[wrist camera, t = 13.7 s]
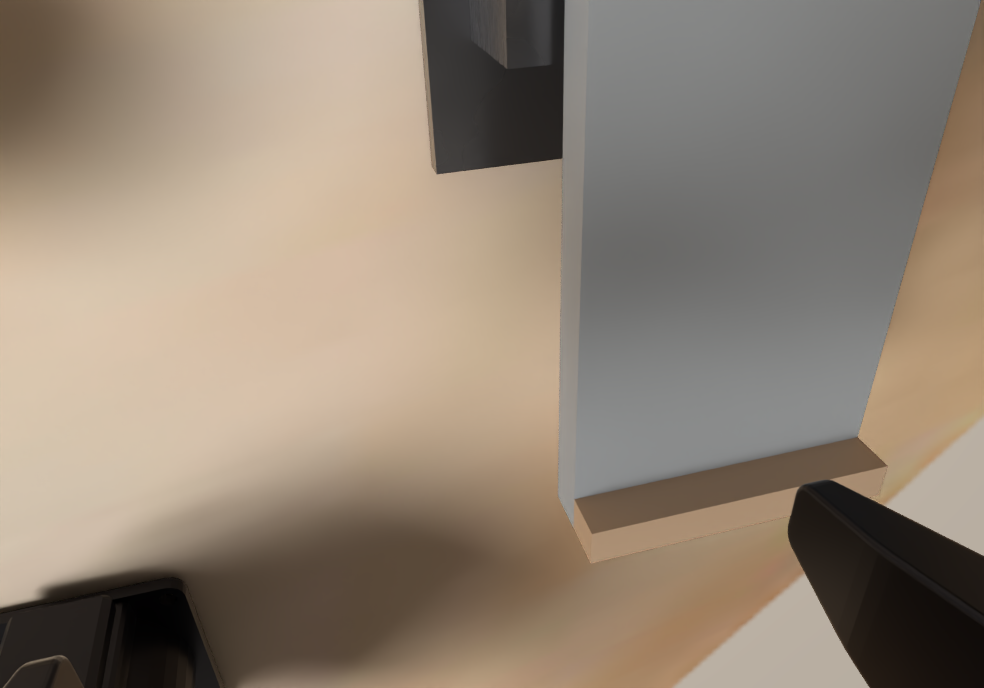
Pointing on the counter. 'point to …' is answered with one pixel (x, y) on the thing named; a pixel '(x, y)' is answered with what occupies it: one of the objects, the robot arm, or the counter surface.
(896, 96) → the beam
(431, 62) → the pivot stand
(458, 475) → the counter surface
